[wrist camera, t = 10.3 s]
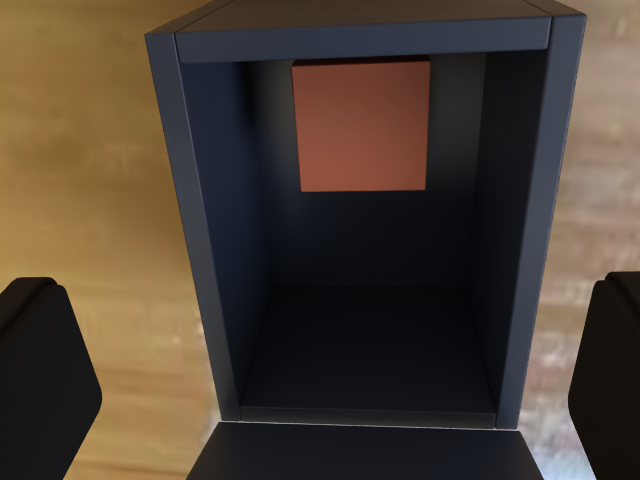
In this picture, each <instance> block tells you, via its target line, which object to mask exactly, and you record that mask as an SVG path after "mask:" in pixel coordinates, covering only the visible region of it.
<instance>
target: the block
mask: <svg viewBox="0 0 640 480" xmlns="http://www.w3.org/2000/svg"><path fill="white" fill-rule="evenodd" d="M430 73H431V61H430V58H429V56H428V54H420V55H394V56H369V57H343V58H318V59H295V61H294V63H293V64H292V66H291V75H292V87H293V100H294V112H295V125H296V137H297V150H298V163H299V175H300V188H301V191H302V192H316V191H390V190H425V189H426V169H427V145H428V121H429V97H430Z"/></svg>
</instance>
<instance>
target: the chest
mask: <svg viewBox="0 0 640 480" xmlns="http://www.w3.org/2000/svg"><path fill="white" fill-rule="evenodd" d="M586 19H587V15H586V14H584V13H582V12H580V11H578V10H575V9H573V8H571V7H568V6H566V5H564V4H561V3H559V2H557V1H555V0H215V1H213V2H211V3H209V4H207V5H204V6H202V7H200V8H198V9H196V10H194V11H192V12H190V13H188V14H186V15H183V16H181V17H179V18H177V19H175V20H173V21H171V22H169V23H167V24H165V25H163V26H160V27H158V28H156V29H154V30H152V31H150V32H148V33H146V34H145V35H144V37H145V42H146V46H147V51H148V56H149V61H150V66H151V71H152V76H153V81H154V86H155V91H156V96H157V101H158V106H159V111H160V116H161V121H162V126H163V131H164V136H165V141H166V146H167V151H168V156H169V161H170V166H171V171H172V176H173V180H174V185H175V190H176V195H177V200H178V205H179V210H180V215H181V220H182V225H183V230H184V235H185V240H186V245H187V250H188V255H189V260H190V265H191V270H192V275H193V280H194V285H195V290H196V295H197V300H198V305H199V310H200V314H201V319H202V324H203V329H204V334H205V339H206V344H207V349H208V354H209V359H210V364H211V369H212V374H213V379H214V384H215V389H216V394H217V399H218V404H219V409H220V414H221V419H222V421H240V422H241V421H243V422H274V423H307V424H340V425H373V426H406V427H439V428H472V429H494V428H496V429H514V430H515V429H517V426H518V420H519V414H520V408H521V402H522V397H523V391H524V385H525V379H526V373H527V367H528V361H529V355H530V349H531V343H532V338H533V332H534V326H535V320H536V314H537V308H538V302H539V296H540V290H541V284H542V279H543V273H544V267H545V261H546V255H547V249H548V243H549V237H550V231H551V226H552V220H553V214H554V208H555V202H556V196H557V190H558V184H559V178H560V172H561V167H562V161H563V155H564V149H565V143H566V137H567V131H568V125H569V119H570V113H571V108H572V102H573V96H574V90H575V84H576V78H577V72H578V66H579V60H580V55H581V49H582V43H583V37H584V31H585V25H586ZM420 54H428V56H429V58H430V61H431V73H430V97H429V121H428V145H427V169H426V189H425V190H390V191H316V192H302V191H301V188H300V175H299V163H298V150H297V137H296V125H295V112H294V100H293V87H292V75H291V66H292V64H293V63H294V61H295V59H318V58H343V57H369V56H394V55H420Z"/></svg>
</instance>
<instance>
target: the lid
mask: <svg viewBox="0 0 640 480" xmlns="http://www.w3.org/2000/svg"><path fill="white" fill-rule="evenodd" d="M186 480H544V479H543V477H542V475H541V472H540V470H539V468H538V466H537V464H536V462H535V460H534V458H533V456H532V454H531V452H530V450H529V448H528V446H527V444H526V442H525V440H524V438H523V436H522V434H521V432H520V431H501V430H468V429H436V428H403V427H370V426H337V425H305V424H272V423H239V422H218V424H217V426H216V428H215V429H214V431H213V433H212V435H211V436H210V438H209V440H208V441H207V443H206V445H205V447H204V448H203V450H202V452H201V454H200V455H199V457H198V459H197V461H196V462H195V464H194V466H193V468H192V469H191V471H190V473H189V474H188V476H187V478H186Z"/></svg>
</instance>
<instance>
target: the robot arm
mask: <svg viewBox="0 0 640 480" xmlns="http://www.w3.org/2000/svg"><path fill="white" fill-rule="evenodd" d="M101 403H102V392H101V388H100V385H99V382H98V379H97V377H96V374H95V371H94V368H93V365H92V362H91V360H90V357H89V354H88V351H87V348H86V345H85V343H84V340H83V337H82V334H81V331H80V328H79V326H78V323H77V320H76V317H75V314H74V311H73V309H72V306H71V303H70V300H69V297H68V294H67V292H66V290H65V288H64V287H63V286H61V285H58V284H57V283H56V281H55V280H54V279H53V278H50V277H21V278H16V279H15V280H14V281H12V282H11V283H10V284H9V285H8V286H7V287H6V289H5V290H4V291H3V292H2V293H1V294H0V480H63V478H64V476H65V474H66V473H67V471H68V469H69V467H70V465H71V463H72V461H73V459H74V457H75V456H76V454H77V452H78V450H79V448H80V446H81V444H82V442H83V441H84V439H85V437H86V435H87V433H88V431H89V429H90V427H91V425H92V424H93V422H94V420H95V418H96V416H97V414H98V412H99V410H100V407H101ZM568 408H569V413H570V416H571V419H572V421H573V424H574V426H575V429H576V431H577V434H578V436H579V438H580V441H581V443H582V446H583V448H584V451H585V453H586V455H587V458H588V460H589V463H590V465H591V468H592V470H593V472H594V475H595V477H596V480H640V271H634V272H610V273H608V274H607V276H606V277H605V280H599V281H597V282H596V283H595V285H594V288H593V291H592V296H591V300H590V304H589V308H588V313H587V317H586V321H585V326H584V330H583V334H582V338H581V343H580V347H579V351H578V355H577V360H576V364H575V368H574V372H573V377H572V381H571V385H570V390H569V394H568Z"/></svg>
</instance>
